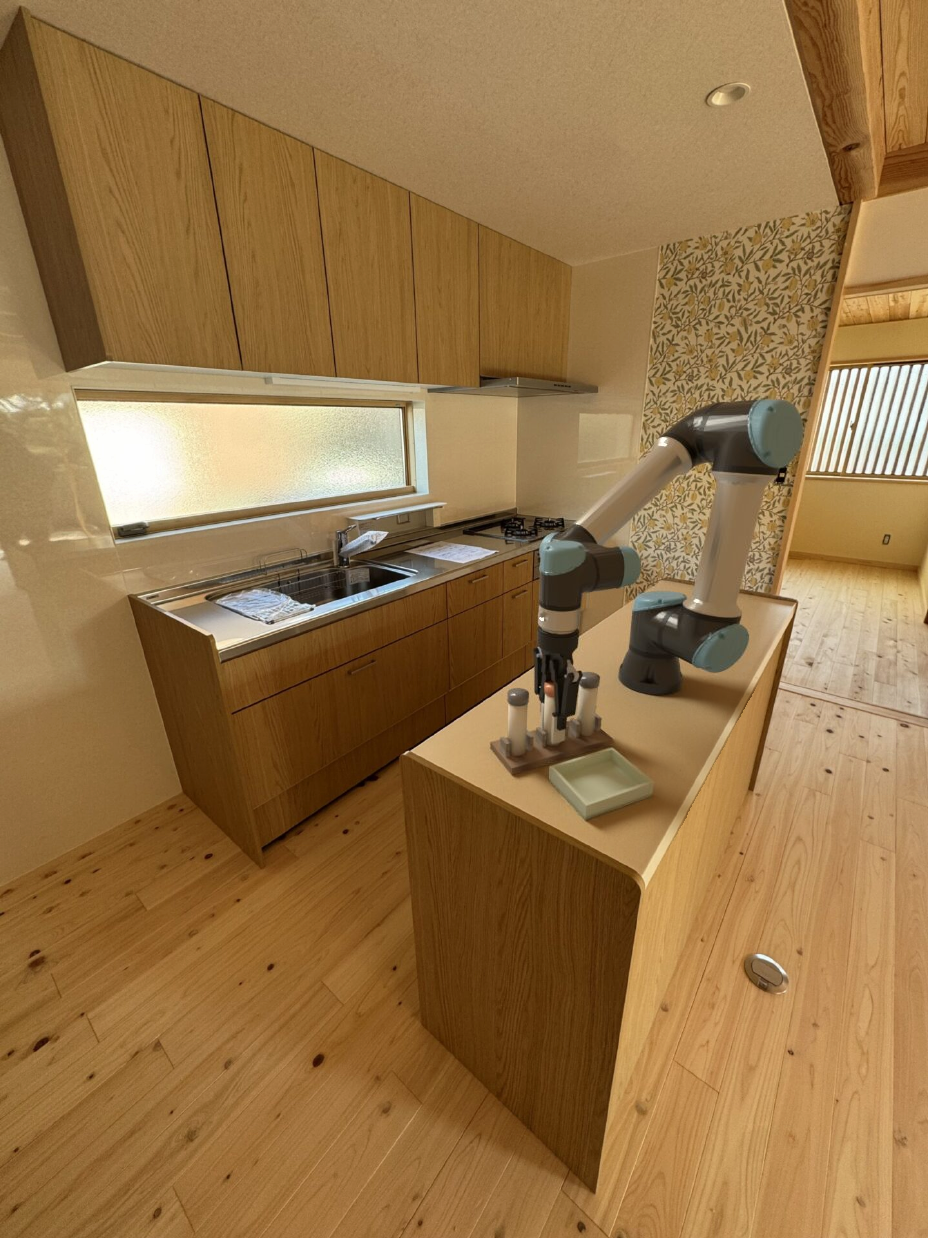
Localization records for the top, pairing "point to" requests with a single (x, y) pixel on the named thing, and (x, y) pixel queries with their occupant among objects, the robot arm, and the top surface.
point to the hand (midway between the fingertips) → (551, 735)
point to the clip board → (550, 747)
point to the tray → (600, 782)
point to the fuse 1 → (517, 720)
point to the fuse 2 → (587, 702)
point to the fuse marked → (549, 711)
